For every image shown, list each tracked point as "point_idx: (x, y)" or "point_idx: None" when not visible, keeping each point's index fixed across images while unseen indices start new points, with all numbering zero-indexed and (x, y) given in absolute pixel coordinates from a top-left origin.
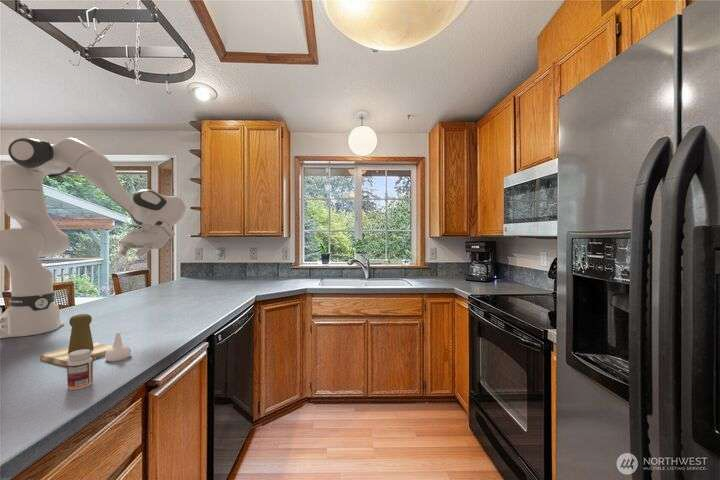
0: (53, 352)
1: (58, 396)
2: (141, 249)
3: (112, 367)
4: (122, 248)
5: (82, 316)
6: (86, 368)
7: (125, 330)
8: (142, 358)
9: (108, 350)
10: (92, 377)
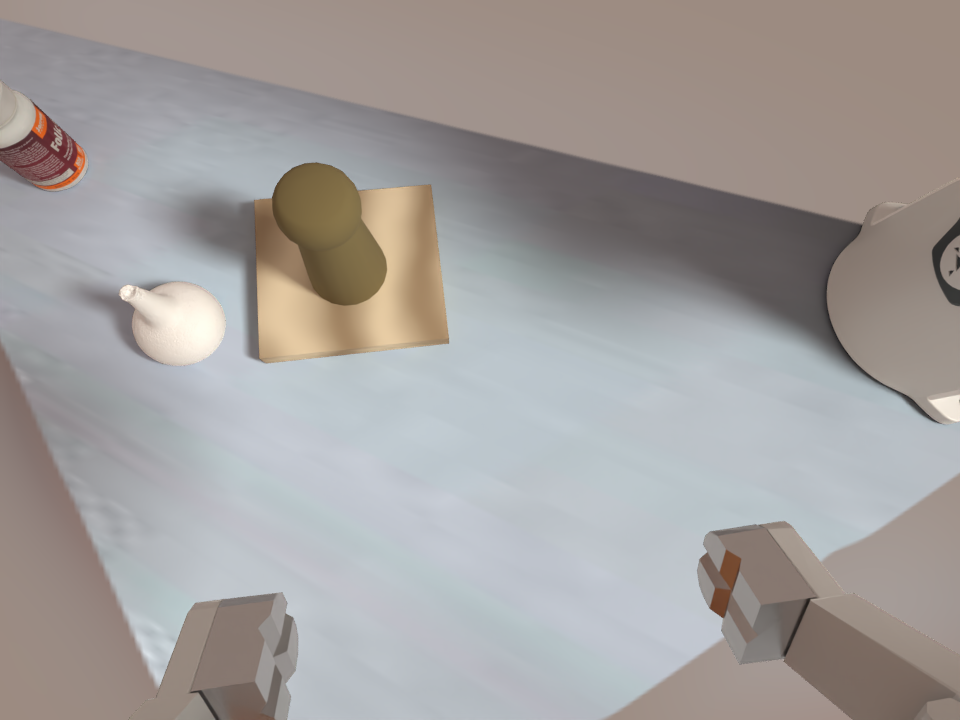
0: (416, 213)
1: None
2: (159, 715)
3: (115, 275)
4: (876, 619)
5: (279, 189)
6: None
7: (573, 540)
8: (95, 371)
9: (176, 284)
10: (24, 177)
